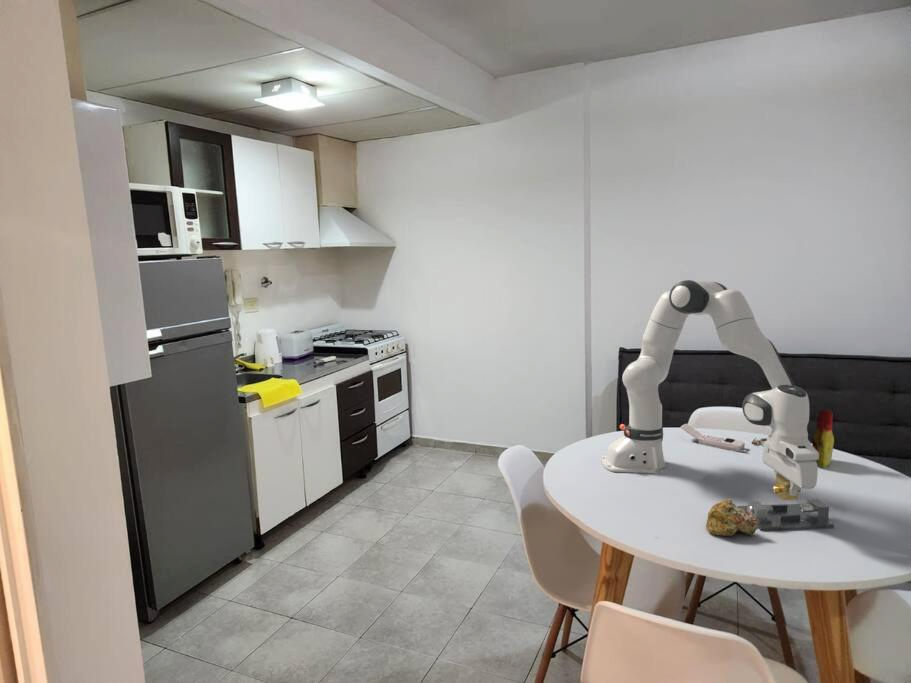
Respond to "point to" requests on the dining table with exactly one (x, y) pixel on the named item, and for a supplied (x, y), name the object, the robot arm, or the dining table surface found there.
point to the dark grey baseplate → (790, 515)
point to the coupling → (783, 488)
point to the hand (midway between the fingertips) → (786, 490)
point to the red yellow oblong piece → (824, 437)
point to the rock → (730, 519)
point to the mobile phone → (715, 440)
